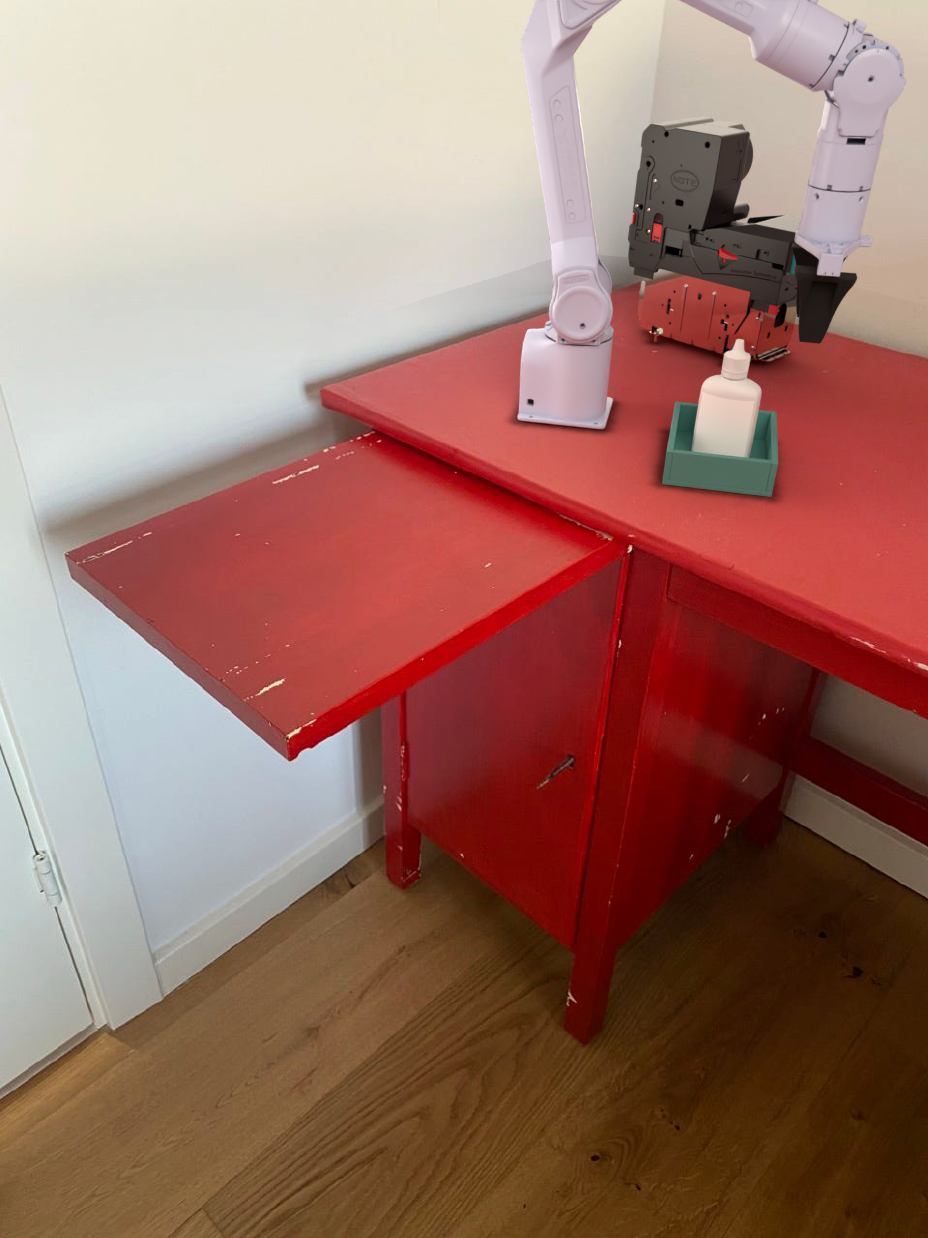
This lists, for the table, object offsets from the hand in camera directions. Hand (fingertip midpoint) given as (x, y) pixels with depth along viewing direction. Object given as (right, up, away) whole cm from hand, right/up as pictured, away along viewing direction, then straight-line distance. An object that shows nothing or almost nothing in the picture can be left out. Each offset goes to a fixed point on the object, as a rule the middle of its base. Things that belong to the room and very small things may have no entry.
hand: (808, 328), depth 99 cm
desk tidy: (-10, -14, -2) cm, 17 cm away
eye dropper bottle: (-10, -14, -2) cm, 17 cm away
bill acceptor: (-3, +6, +26) cm, 27 cm away
